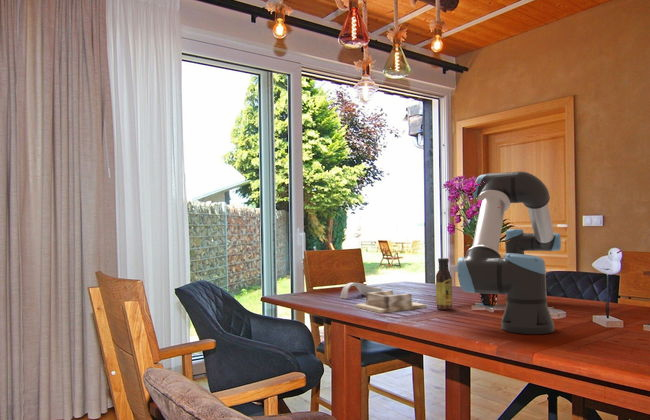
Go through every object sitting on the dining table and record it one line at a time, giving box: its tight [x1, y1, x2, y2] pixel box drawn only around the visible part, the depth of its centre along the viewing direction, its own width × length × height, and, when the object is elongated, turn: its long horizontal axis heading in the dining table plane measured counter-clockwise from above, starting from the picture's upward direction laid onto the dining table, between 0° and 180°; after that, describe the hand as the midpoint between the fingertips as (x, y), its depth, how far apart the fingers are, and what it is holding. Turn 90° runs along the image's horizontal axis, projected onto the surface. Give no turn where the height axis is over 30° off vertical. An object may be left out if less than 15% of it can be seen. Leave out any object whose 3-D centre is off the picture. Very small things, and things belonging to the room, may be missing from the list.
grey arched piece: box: [340, 281, 383, 300], centre depth 236 cm, size 24×12×7 cm, turn 132°
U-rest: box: [355, 289, 427, 314], centre depth 201 cm, size 22×18×6 cm
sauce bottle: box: [435, 257, 453, 311], centre depth 195 cm, size 6×6×20 cm
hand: (462, 270), depth 200 cm, fingers open, 13 cm apart
